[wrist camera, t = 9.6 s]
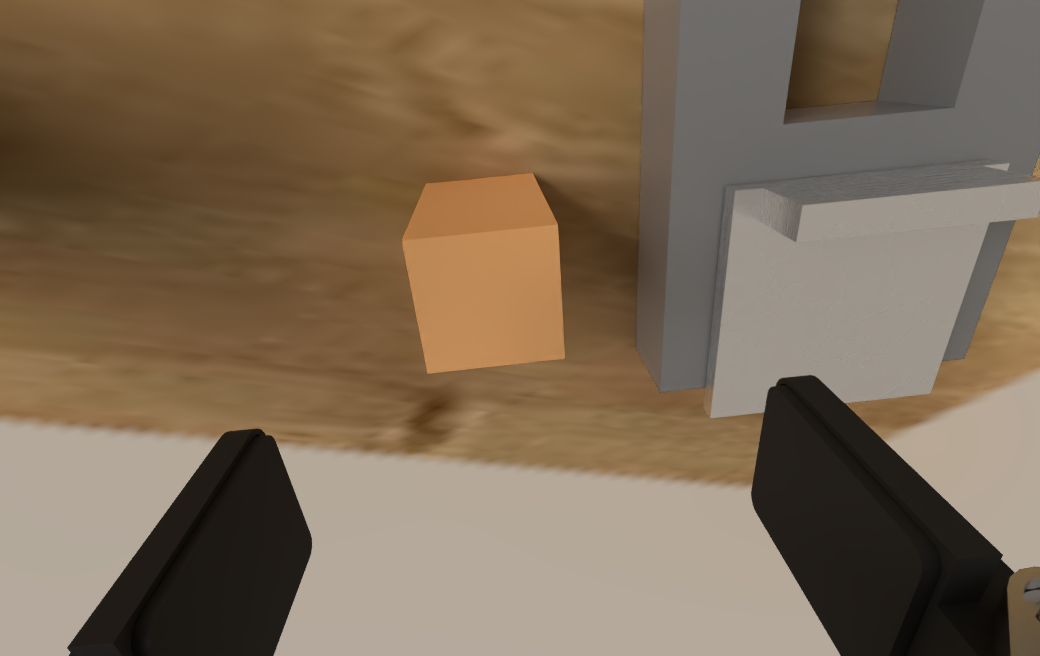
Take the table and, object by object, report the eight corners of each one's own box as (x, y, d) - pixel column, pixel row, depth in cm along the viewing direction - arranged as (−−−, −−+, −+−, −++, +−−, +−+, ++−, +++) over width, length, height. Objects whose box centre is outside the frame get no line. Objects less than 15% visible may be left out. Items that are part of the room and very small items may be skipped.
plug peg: (442, 282, 24) (427, 373, 17) (425, 183, 22) (401, 240, 15) (539, 272, 24) (564, 358, 17) (532, 173, 22) (558, 224, 15)
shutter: (703, 407, 24) (735, 456, 21) (725, 186, 19) (770, 208, 16) (917, 383, 24) (978, 428, 21) (990, 159, 19) (1082, 176, 16)
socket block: (635, 348, 27) (660, 392, 23) (648, -165, 17) (692, -223, 14) (900, 319, 27) (964, 358, 23) (1050, -198, 18) (1192, -262, 14)
